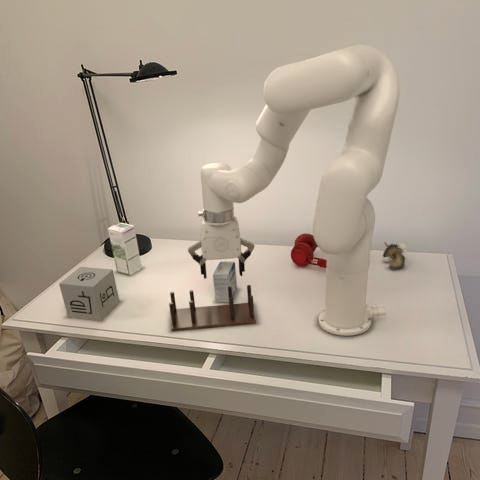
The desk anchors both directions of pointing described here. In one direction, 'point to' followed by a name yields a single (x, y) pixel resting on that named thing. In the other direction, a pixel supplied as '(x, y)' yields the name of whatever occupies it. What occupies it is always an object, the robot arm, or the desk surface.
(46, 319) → the desk surface
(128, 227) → the syrup box
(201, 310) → the plate rack
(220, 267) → the medicine box
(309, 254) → the headphones
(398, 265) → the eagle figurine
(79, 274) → the icon cube
